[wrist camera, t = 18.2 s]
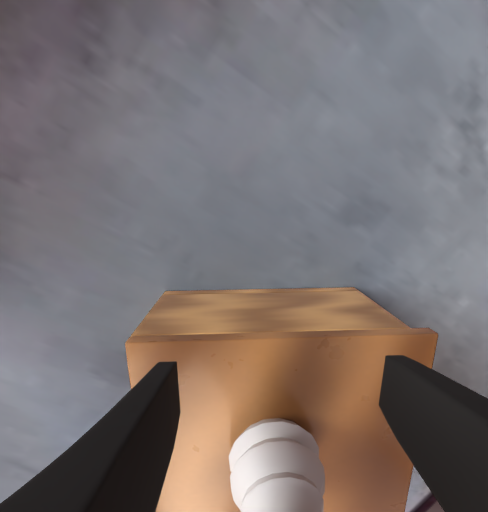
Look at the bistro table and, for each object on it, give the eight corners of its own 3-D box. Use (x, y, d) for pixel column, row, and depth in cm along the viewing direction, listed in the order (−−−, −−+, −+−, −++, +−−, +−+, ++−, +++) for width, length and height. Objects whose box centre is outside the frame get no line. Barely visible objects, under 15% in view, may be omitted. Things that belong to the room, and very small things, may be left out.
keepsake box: (354, 286, 17) (411, 327, 12) (340, 428, 20) (380, 515, 14) (165, 290, 17) (130, 335, 11) (177, 435, 20) (154, 528, 14)
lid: (429, 327, 12) (439, 333, 11) (395, 514, 14) (402, 527, 14) (130, 335, 11) (124, 343, 11) (153, 529, 14) (150, 543, 13)
